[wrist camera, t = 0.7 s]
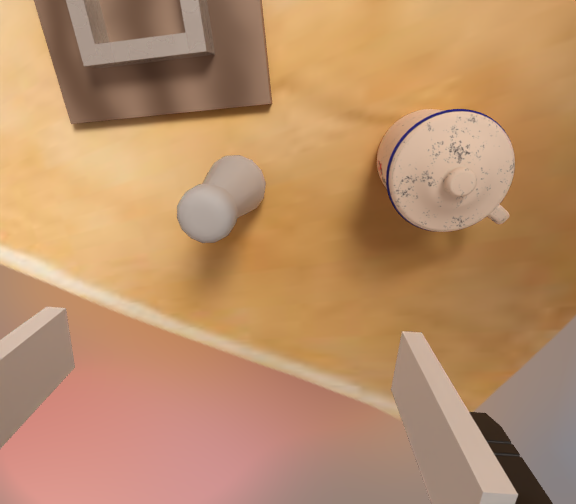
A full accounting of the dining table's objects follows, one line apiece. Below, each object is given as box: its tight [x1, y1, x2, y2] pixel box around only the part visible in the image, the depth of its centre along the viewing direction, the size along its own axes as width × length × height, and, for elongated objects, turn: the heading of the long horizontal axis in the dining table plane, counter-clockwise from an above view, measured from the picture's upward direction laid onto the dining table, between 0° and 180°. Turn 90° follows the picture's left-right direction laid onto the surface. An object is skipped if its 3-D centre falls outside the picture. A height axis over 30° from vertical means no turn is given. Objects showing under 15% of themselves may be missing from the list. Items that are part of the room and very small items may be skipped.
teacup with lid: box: [377, 109, 515, 232], centre depth 30 cm, size 12×9×12 cm
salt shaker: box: [177, 155, 266, 243], centre depth 32 cm, size 6×6×13 cm
